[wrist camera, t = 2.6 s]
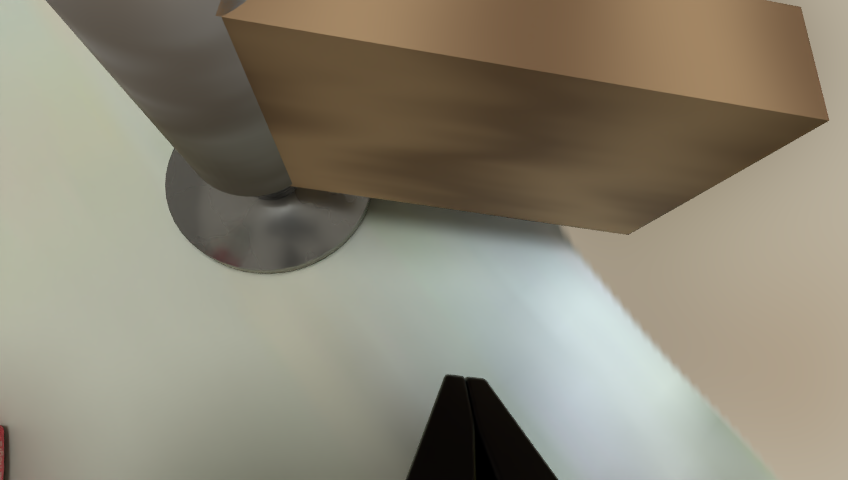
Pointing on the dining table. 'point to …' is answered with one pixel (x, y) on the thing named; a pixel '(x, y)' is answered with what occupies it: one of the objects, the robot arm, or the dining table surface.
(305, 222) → the stool pivot and socket
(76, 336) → the dining table surface
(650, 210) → the brown rectangular block
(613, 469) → the dining table surface
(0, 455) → the ink box
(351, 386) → the dining table surface
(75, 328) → the dining table surface
